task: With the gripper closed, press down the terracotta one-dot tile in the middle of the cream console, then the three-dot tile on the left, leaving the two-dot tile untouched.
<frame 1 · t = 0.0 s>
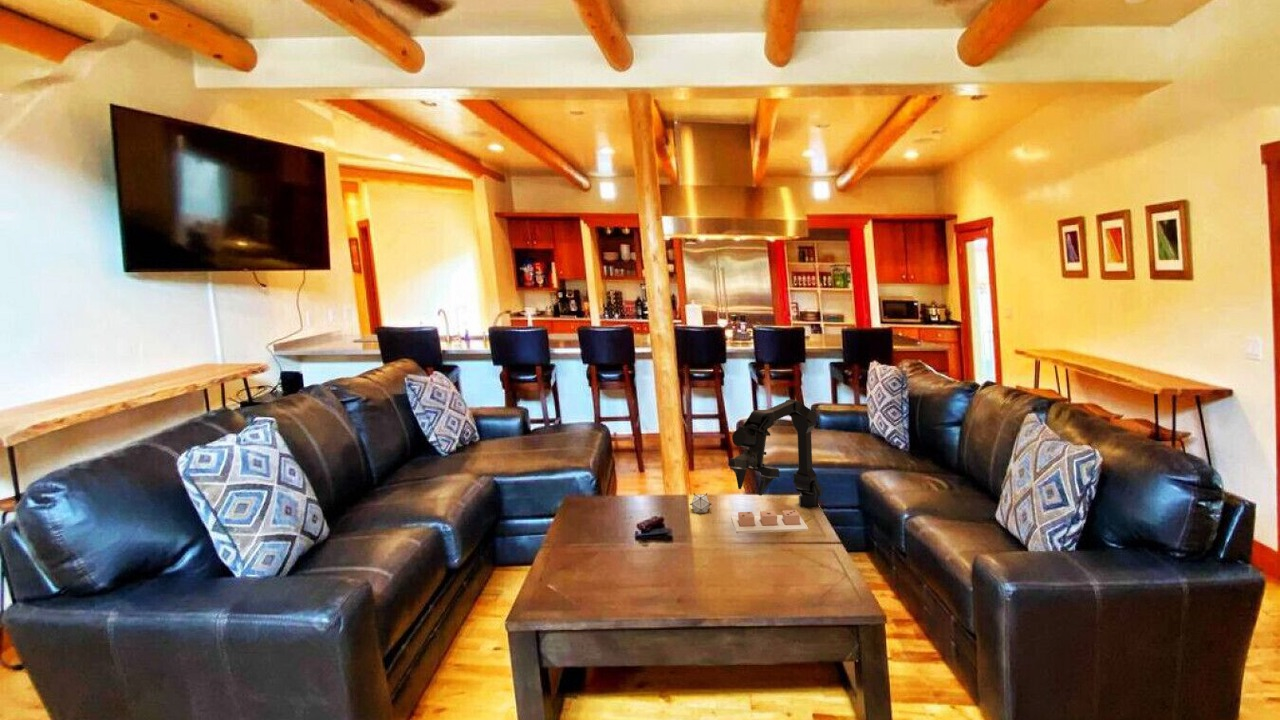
hand: (749, 492, 209), 15 cm above the table, tool pointing down, fingers open, 9 cm apart
tile one dot: (768, 518, 216), point 3 cm above the table, slide at 0.0 cm
tile two dots: (746, 519, 216), point 3 cm above the table, slide at 0.0 cm
console: (768, 527, 217), on the table
tile three dots: (791, 518, 216), point 3 cm above the table, slide at 0.0 cm
game die: (701, 514, 232), on the table
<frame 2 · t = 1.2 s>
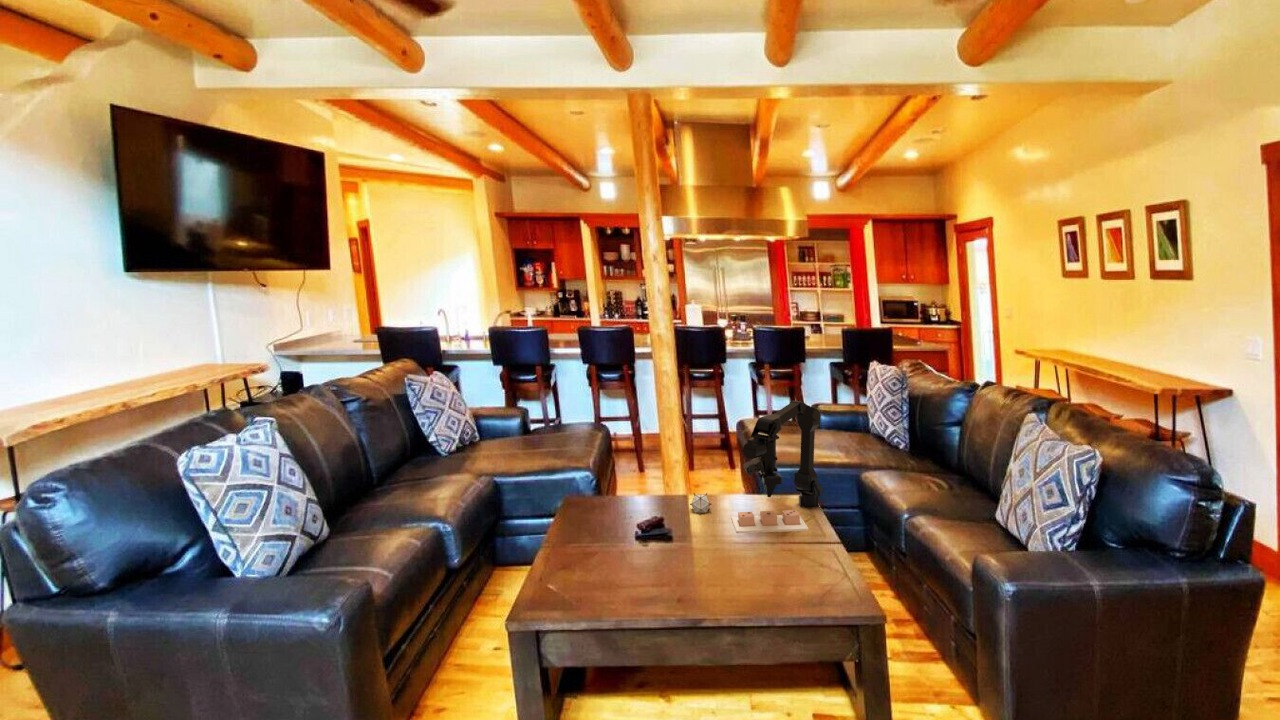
hand: (768, 495, 215), 12 cm above the table, tool pointing down, fingers open, 3 cm apart
nothing on the table moved.
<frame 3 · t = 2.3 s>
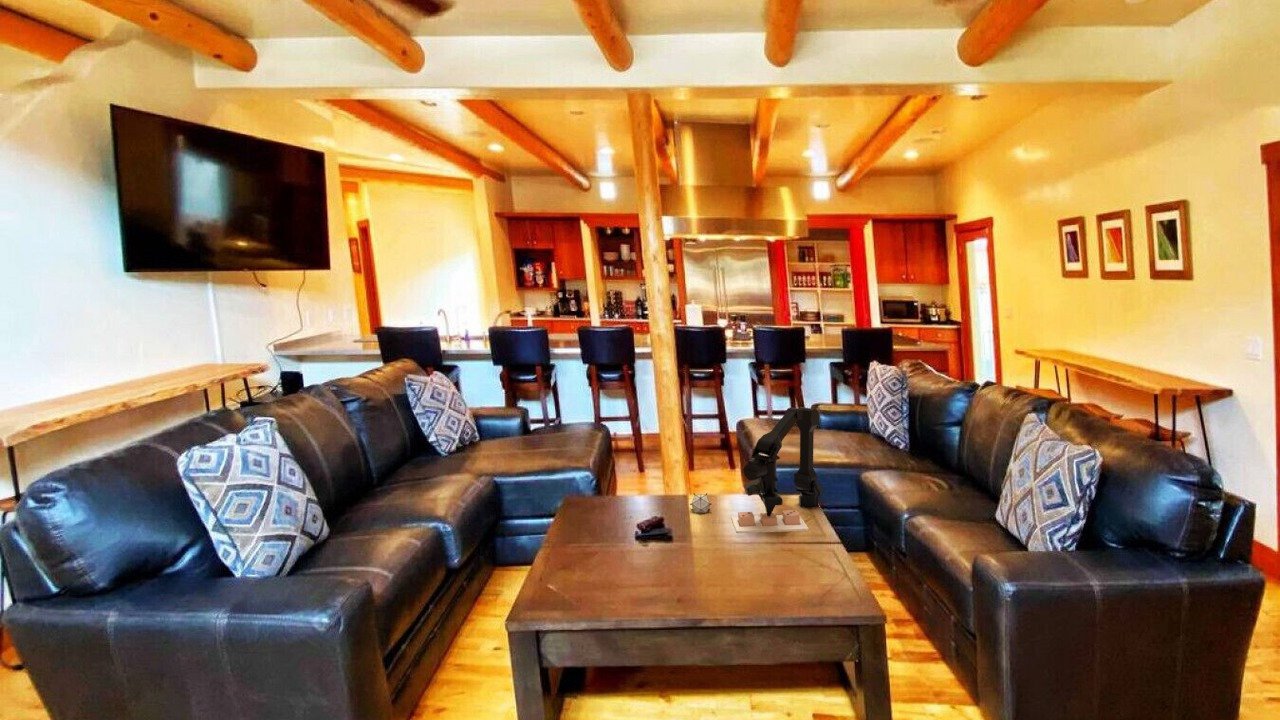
hand: (768, 515, 216), 5 cm above the table, tool pointing down, fingers closed, pressing on tile one dot
tile one dot: (768, 521, 216), point 3 cm above the table, slide at 0.8 cm, touching gripper
everything else where it was.
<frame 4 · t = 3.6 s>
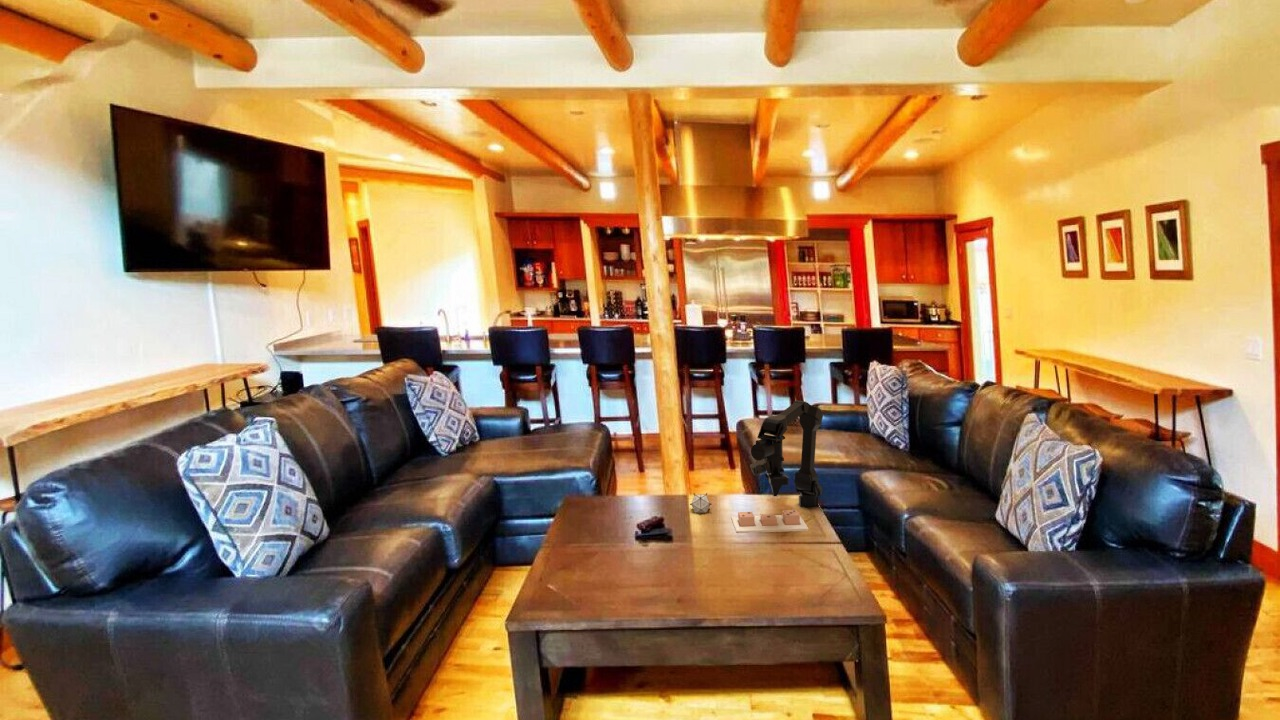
hand: (775, 496, 215), 12 cm above the table, tool pointing down, fingers closed
tile one dot: (768, 521, 216), point 2 cm above the table, slide at 1.2 cm
everything else where it was.
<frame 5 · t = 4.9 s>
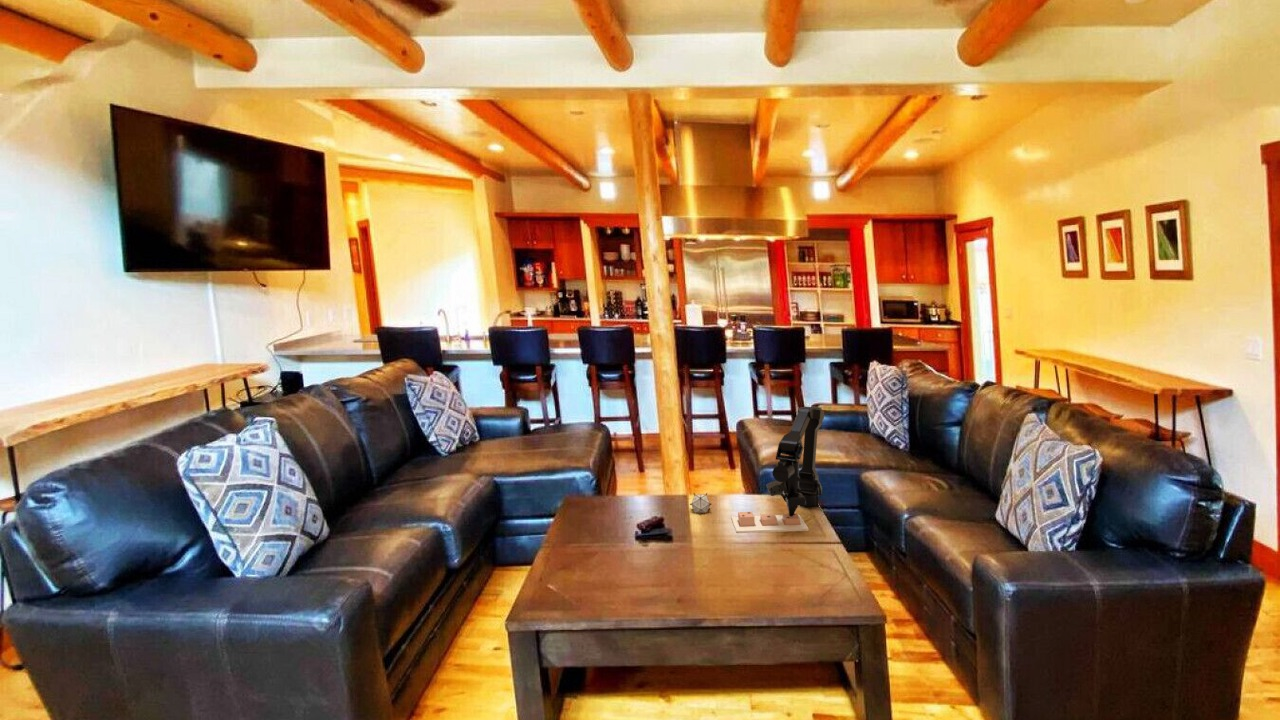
hand: (791, 515, 216), 4 cm above the table, tool pointing down, fingers closed, pressing on tile three dots
tile three dots: (791, 521, 216), point 2 cm above the table, slide at 1.2 cm, touching gripper
everything else where it was.
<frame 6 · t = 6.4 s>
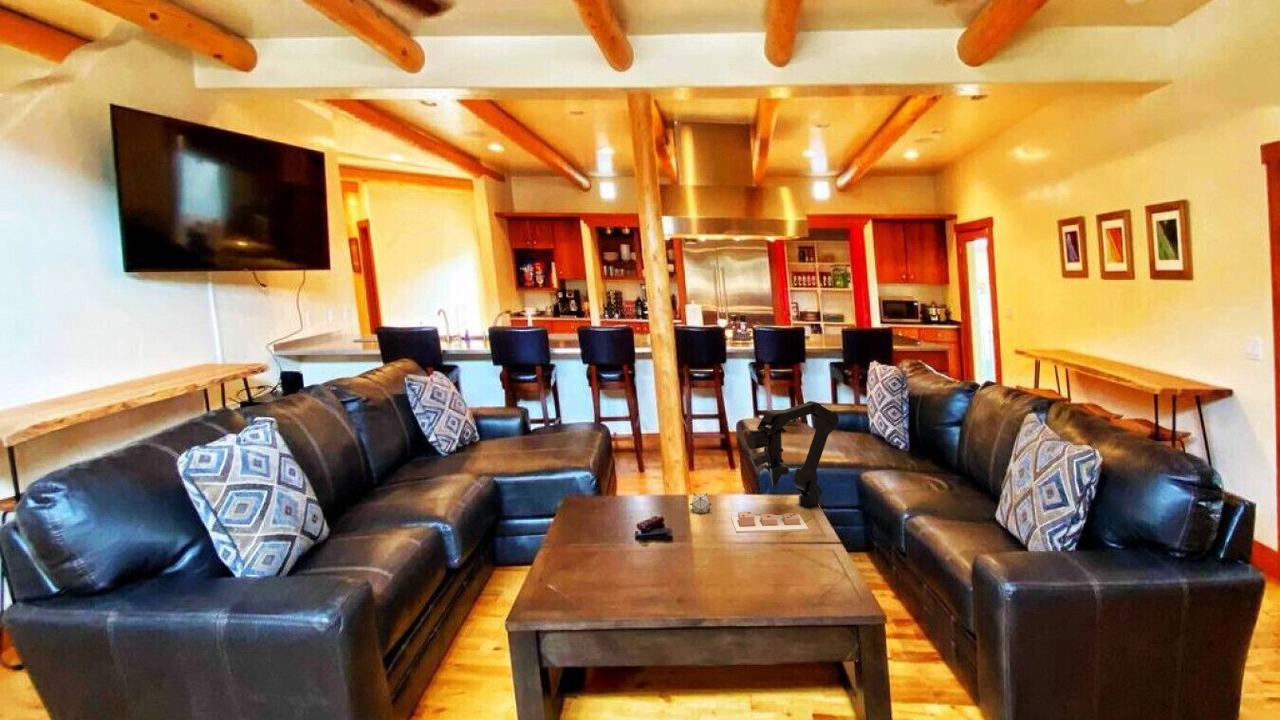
hand: (774, 485, 225), 12 cm above the table, tool pointing down, fingers closed
tile three dots: (791, 521, 216), point 2 cm above the table, slide at 1.2 cm
everything else where it was.
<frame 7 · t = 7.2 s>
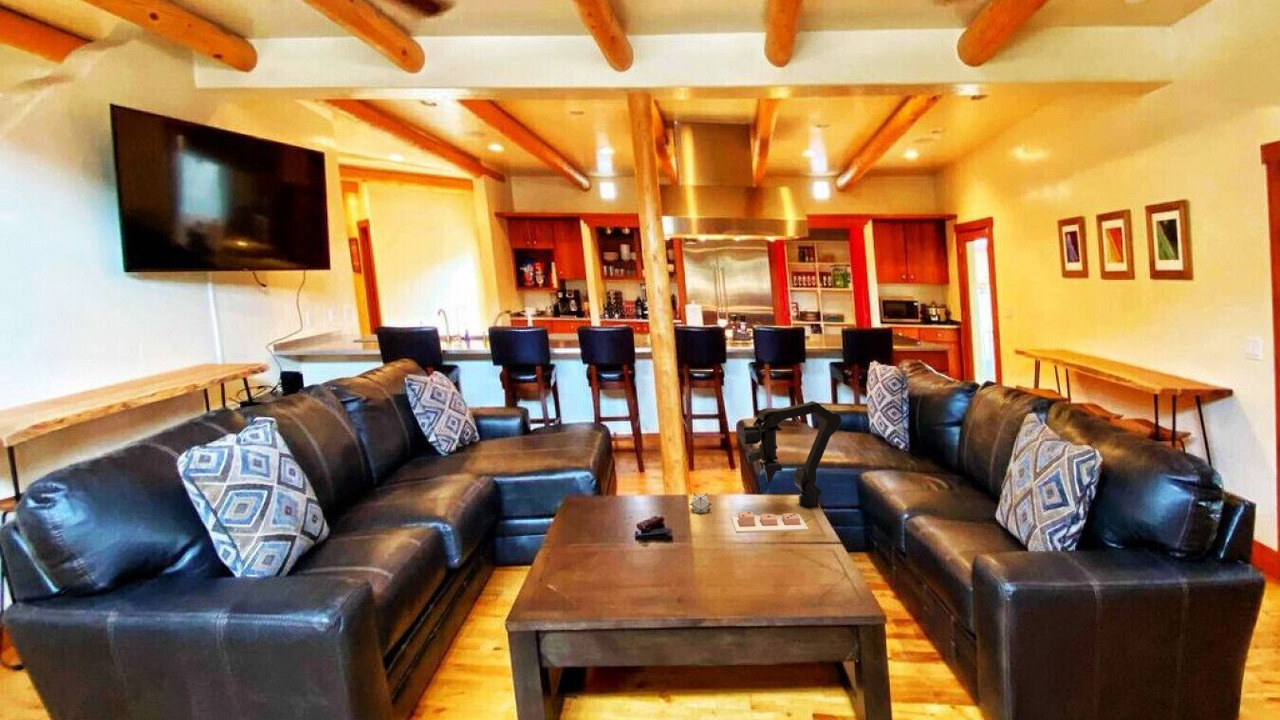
hand: (769, 482, 229), 12 cm above the table, tool pointing down, fingers closed
nothing on the table moved.
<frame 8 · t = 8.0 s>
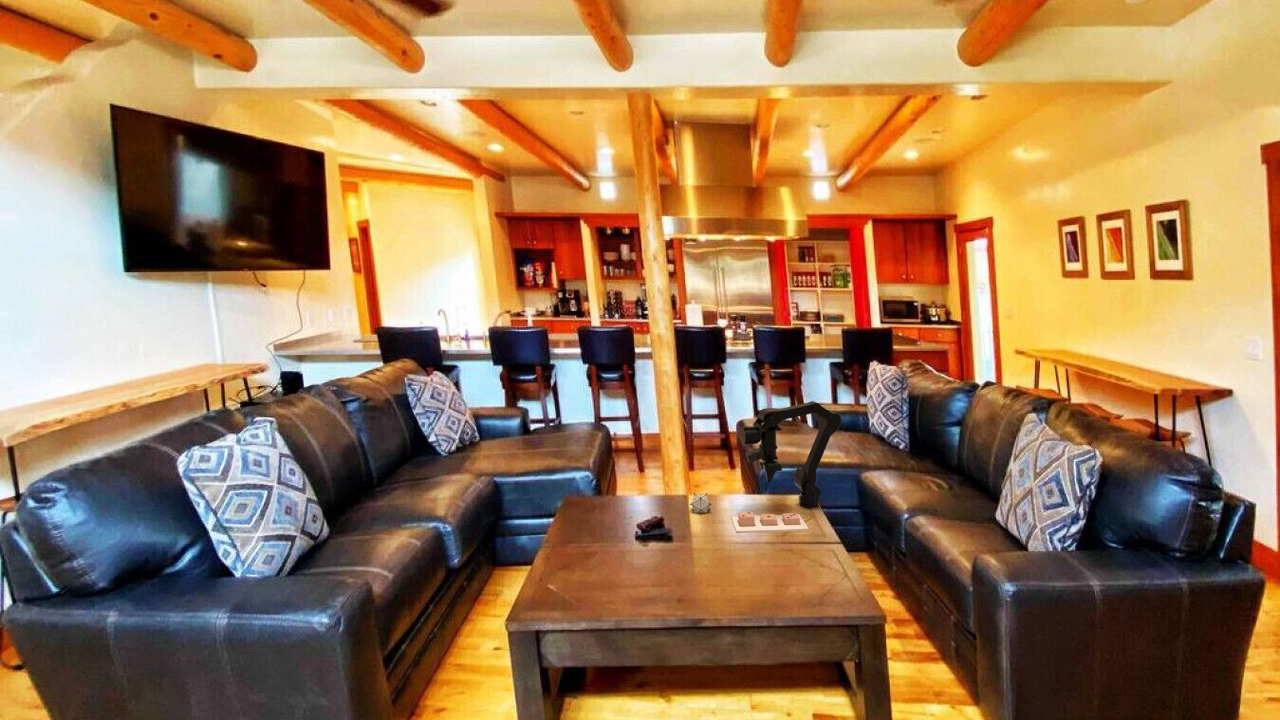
hand: (769, 482, 229), 12 cm above the table, tool pointing down, fingers closed
nothing on the table moved.
at the end: tile one dot slide at 1.2 cm; tile three dots slide at 1.2 cm; tile two dots slide at 0.0 cm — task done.
